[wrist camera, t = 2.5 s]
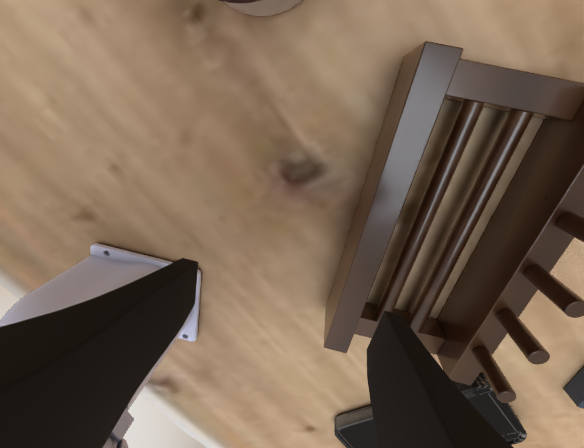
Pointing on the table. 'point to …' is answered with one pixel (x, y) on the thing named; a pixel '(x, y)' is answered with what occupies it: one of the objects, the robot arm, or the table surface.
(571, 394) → the rail
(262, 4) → the coffee cup
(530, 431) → the table surface
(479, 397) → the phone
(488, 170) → the rack
